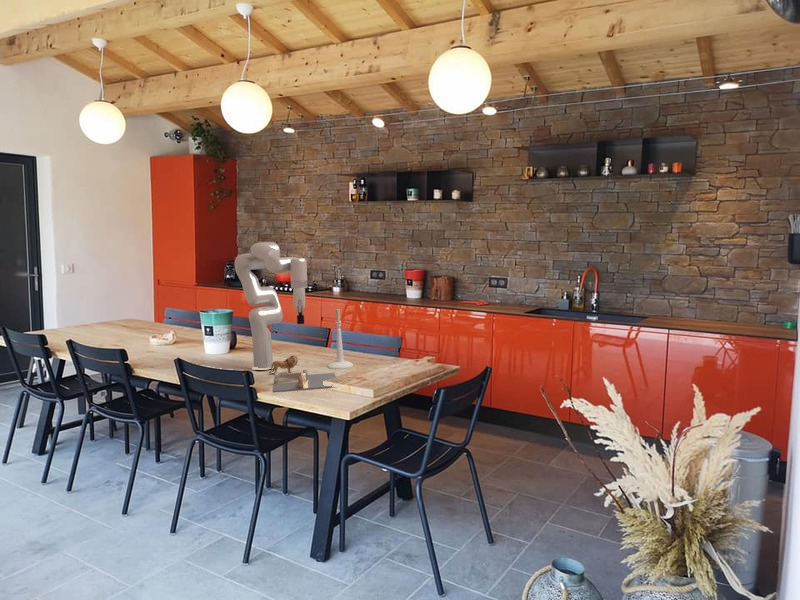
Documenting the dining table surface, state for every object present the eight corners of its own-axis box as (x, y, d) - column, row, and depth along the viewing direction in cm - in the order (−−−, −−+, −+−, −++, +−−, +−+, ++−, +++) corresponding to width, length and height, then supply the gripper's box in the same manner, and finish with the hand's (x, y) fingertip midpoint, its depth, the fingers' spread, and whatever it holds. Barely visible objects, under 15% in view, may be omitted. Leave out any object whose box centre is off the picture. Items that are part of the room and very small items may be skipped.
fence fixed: (275, 382, 265) (274, 372, 265) (307, 380, 268) (307, 369, 267) (274, 383, 264) (274, 373, 263) (307, 381, 266) (307, 370, 265)
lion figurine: (298, 371, 289) (297, 353, 288) (298, 374, 283) (297, 356, 282) (268, 373, 287) (267, 355, 286) (267, 376, 282) (266, 357, 281)
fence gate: (302, 380, 265) (302, 371, 265) (307, 380, 265) (306, 371, 265) (298, 387, 253) (297, 377, 253) (302, 387, 253) (302, 377, 253)
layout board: (275, 378, 276) (275, 377, 276) (334, 373, 281) (334, 372, 281) (273, 392, 251) (273, 390, 251) (338, 387, 255) (338, 385, 255)
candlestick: (322, 367, 296) (319, 309, 292) (339, 362, 306) (336, 306, 303) (342, 370, 288) (339, 310, 285) (358, 365, 299) (355, 307, 296)
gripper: (291, 283, 276) (293, 321, 278) (290, 286, 261) (292, 326, 263) (307, 282, 277) (309, 320, 279) (307, 285, 262) (308, 326, 264)
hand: (300, 323), depth 271 cm, fingers closed
